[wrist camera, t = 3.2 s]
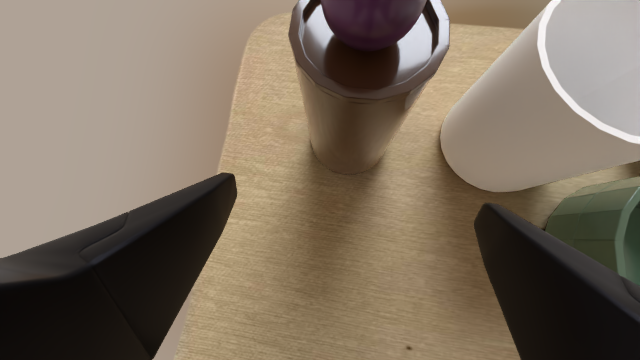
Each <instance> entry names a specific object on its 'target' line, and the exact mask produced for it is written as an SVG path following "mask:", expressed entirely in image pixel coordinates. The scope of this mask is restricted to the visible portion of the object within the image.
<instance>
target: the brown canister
mask: <svg viewBox="0 0 640 360" xmlns="http://www.w3.org/2000/svg"><path fill="white" fill-rule="evenodd" d="M288 35H289V41H290V44H291V48H292V51H293V56H294V61H295V66H296V70H297V75H298V80H299V85H300V90H301V95H302V100H303V105H304V109H305V114H306V119H307V124H308V129H309V134H310V139H311V144H312V148H313V151H314V154H315V156H316V157H317V159H318V160H319V161H320V162H321V163H322V165H324V166H325V167H326V168H328V169H329V170H331V171H333V172H336V173H339V174H345V175H352V174H359V173H362V172H365V171H367V170H369V169H370V168H372V167H373V166H374V165H375V164H376V163H377V162H378V161H379V160H380V158H381V157H382V155H383V153H384V152H385V150H386V149H387V147H388V146H389V144H390V142H391V141H392V139H393V138H394V136H395V134H396V133H397V131H398V130H399V128H400V127H401V125H402V123H403V122H404V120H405V119H406V117H407V116H408V114H409V112H410V111H411V109H412V108H413V106H414V104H415V103H416V101H417V100H418V98H419V97H420V95H421V93H422V92H423V90H424V89H425V87H426V85H427V84H428V82H429V81H430V79H431V78H432V77H433V76H434V75H435V73H436V71H437V70H438V68H439V66H440V64H441V62H442V60H443V58H444V56H445V55H446V53H447V51H448V49H449V36H450V21H449V17H448V15H447V13H446V11H445V8H444V6H443V4H442V2H441V0H427V1H426V4H425V7H424V9H423V11H422V13H421V15H420V17H419V19H418V20H417V22H416V24H415V25H414V26H413V28H412V29H411V30H410V31H409V32H408V33H407V34H406V35H405V36H404V37H403V38H402V39H400V40H399V41H398V42H396V43H395V44H393V45H391V46H389V47H387V48H384V49H381V50H377V51H360V50H356V49H353V48H351V47H349V46H347V45H345V44H344V43H343V42H341V41H340V40H339V39H338V38H337V37H336V36H335V35H334V34H333V32H332V31H331V30H330V28H329V26H328V24H327V22H326V20H325V17H324V14H323V11H322V5H321V0H299V1H298V2H297V4H296V5H295V7H294V8H293V11H292V17H291V23H290V28H289V34H288Z"/></svg>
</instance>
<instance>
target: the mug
mask: <svg viewBox="0 0 640 360" xmlns="http://www.w3.org/2000/svg"><path fill="white" fill-rule="evenodd" d="M440 141H441V149H442V151H443V154H444V156H445V159H446V161H447V163H448V164H449V165H450V167H451V168H452V169H453V171H454V172H455V173H456V174H457V175H458V176H460V177H461V178H462V179H463V180H464V181H466V182H467V183H469V184H471V185H473V186H475V187H477V188H479V189H483V190H487V191H492V192H512V191H519V190H523V189H527V188H531V187H535V186H539V185H543V184H547V183H551V182H555V181H559V180H563V179H567V178H571V177H575V176H579V175H584V174H588V173H592V172H596V171H600V170H604V169H608V168H612V167H616V166H620V165H624V164H628V163H632V162H636V161H640V0H552V1H551V2H550V3H549V4H548V5H547V6H546V7H545V8H544V9H543V10H542V12H541V13H540V14H539V15H538V16H537V17H536V18H535V19H534V20H533V21H532V22H531V23H530V24H529V25H528V27H527V28H526V29H525V30H524V31H523V32H522V33H521V34H520V35H519V36H518V37H517V38H516V39H515V40H514V41H513V42H512V44H511V45H510V46H509V47H508V48H507V49H506V50H505V51H504V52H503V53H502V54H501V55H500V56H499V57H498V58H497V60H496V61H495V62H494V63H493V64H492V65H491V66H490V67H489V68H488V69H487V70H486V71H485V72H484V73H483V75H482V76H481V77H480V78H479V79H478V80H477V81H476V82H475V83H474V84H473V85H472V86H471V87H470V88H469V89H468V91H467V92H466V93H465V94H464V95H463V96H462V97H461V98H460V99H459V100H458V101H457V102H456V103H455V104H454V106H453V107H452V108H451V109H450V111H449V112H448V114H447V115H446V117H445V119H444V121H443V123H442V127H441V133H440Z"/></svg>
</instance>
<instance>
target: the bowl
mask: <svg viewBox="0 0 640 360" xmlns="http://www.w3.org/2000/svg"><path fill="white" fill-rule="evenodd" d="M545 232H547V233H549V234H550V235H552V236H554V237H556V238H557V239H559V240H561V241H563V242H564V243H566V244H568V245H569V246H571V247H573V248H575V249H576V250H578V251H580V252H582V253H583V254H585V255H587V256H589V257H590V258H592V259H594V260H595V261H597V262H599V263H601V264H602V265H604V266H606V267H608V268H609V269H611V270H613V271H614V272H616V273H618V274H619V275H620V276H623V277H625V278H627V279H628V280H630V281H632V282H634V283H635V284H637V285H639V286H640V176H638V177H633V178H628V179H623V180H618V181H613V182H608V183H603V184H598V185H593V186H588V187H584V188H582V189H580V190H578V191H576V192H575V193H573V194H571V195H569V196H568V197H566V198H564V200H563V201H562V202H561V203H560V204H559V206H558V207H557V208H556V209H555V211H554V212H553V213H552V214H551V216H550V217H549V220H548V223H547V226H546V229H545Z"/></svg>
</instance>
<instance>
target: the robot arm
mask: <svg viewBox="0 0 640 360" xmlns="http://www.w3.org/2000/svg"><path fill="white" fill-rule="evenodd" d="M236 198H237V188H236V181H235V176H234V175H233V174H231V173H220V174H218V175H216V176H213V177H211V178H209V179H206V180H204V181H201V182H199V183H196V184H194V185H191V186H189V187H187V188H184V189H182V190H179V191H177V192H175V193H172V194H170V195H168V196H165V197H163V198H160V199H158V200H155V201H153V202H151V203H149V204H146V205H143V206H141V207H139V208H136V209H134V210H131V211H130V212H129V213H128V212H126V213H124V214H121V215H119V216H117V217H114V218H112V219H109V220H107V221H104V222H102V223H99V224H97V225H94V226H91V227H89V228H86V229H83V230H80V231H78V232H75V233H72V234H70V235H67V236H64V237H61V238H58V239H56V240H53V241H50V242H47V243H45V244H42V245H39V246H36V247H33V248H31V249H28V250H25V251H22V252H19V253H17V254H14V255H11V256H8V257H4V258H0V360H152V359H153V358H154V357H155V355H156V353H157V351H158V349H159V347H160V346H161V344H162V342H163V340H164V338H165V336H166V335H167V333H168V331H169V329H170V327H171V325H172V324H173V322H174V320H175V318H176V316H177V315H178V313H179V311H180V309H181V307H182V305H183V303H184V302H185V300H186V298H187V296H188V294H189V293H190V291H191V289H192V287H193V285H194V283H195V282H196V280H197V278H198V276H199V274H200V272H201V271H202V269H203V267H204V265H205V263H206V262H207V260H208V258H209V256H210V254H211V252H212V251H213V249H214V247H215V245H216V243H217V241H218V240H219V238H220V236H221V234H222V232H223V230H224V228H225V225H226V223H227V220H228V218H229V215H230V213H231V210H232V208H233V205H234V203H235V200H236ZM474 229H475V233H476V237H477V241H478V244H479V248H480V252H481V256H482V259H483V263H484V266H485V269H486V271H487V274H488V277H489V279H490V282H491V284H492V287H493V289H494V292H495V294H496V297H497V299H498V302H499V305H500V307H501V310H502V312H503V315H504V317H505V320H506V322H507V325H508V327H509V330H510V332H511V335H512V338H513V340H514V343H515V345H516V348H517V350H518V353H519V355H520V358H521V360H640V286H639V285H637V284H635V283H634V282H632V281H630V280H628V279H627V278H625V277H623V276H620V275H619V274H618V273H616V272H614V271H613V270H611V269H609V268H608V267H606V266H604V265H602V264H601V263H599V262H597V261H595V260H594V259H592V258H590V257H589V256H587V255H585V254H583V253H582V252H580V251H578V250H576V249H575V248H573V247H571V246H569V245H568V244H566V243H564V242H563V241H561V240H559V239H557V238H556V237H554V236H552V235H550V234H549V233H547V232H545V231H544V230H542V229H540V228H538V227H537V226H535V225H533V224H531V223H530V222H528V221H526V220H524V219H523V218H521V217H519V216H518V215H516V214H514V213H512V212H511V211H509V210H507V209H505V208H504V207H502V206H500V205H498V204H492V203H485V204H483V205H482V207H481V209H480V211H479V213H478V215H477V217H476V218H475V221H474Z"/></svg>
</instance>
